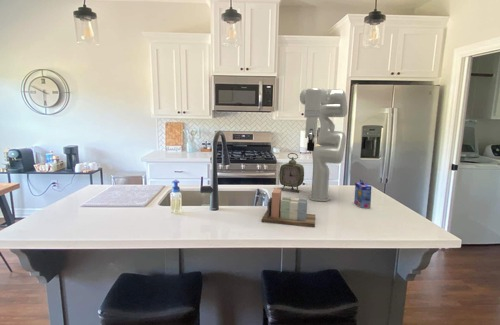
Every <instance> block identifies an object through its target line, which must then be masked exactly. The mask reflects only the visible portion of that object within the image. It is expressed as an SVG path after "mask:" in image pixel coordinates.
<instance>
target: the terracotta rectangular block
mask: <svg viewBox="0 0 500 325" xmlns="http://www.w3.org/2000/svg"><path fill="white" fill-rule="evenodd" d="M271 198H272V208H271V217H274V218H279V216H280V213H281V200H282V190H281V189H280V188H274V189H273V190H272V191H271Z"/></svg>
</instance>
